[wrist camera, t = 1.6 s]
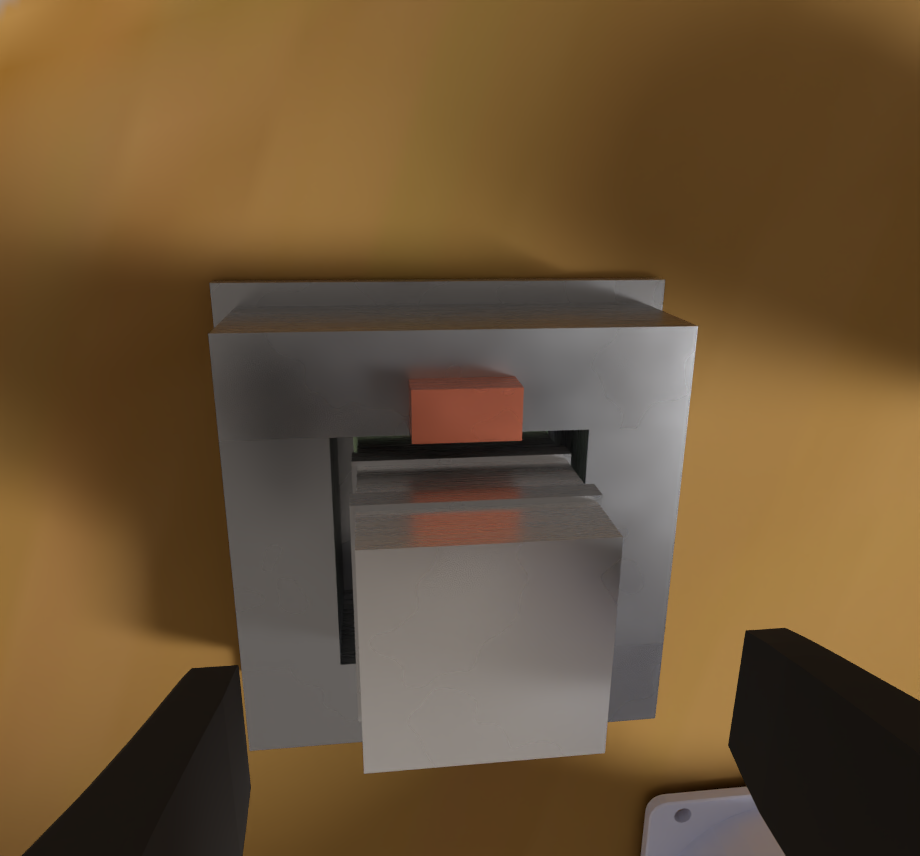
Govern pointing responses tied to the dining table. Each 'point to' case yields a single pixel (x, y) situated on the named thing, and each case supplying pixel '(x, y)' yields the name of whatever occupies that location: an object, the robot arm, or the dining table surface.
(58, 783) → the dining table surface
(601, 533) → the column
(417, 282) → the stand base
